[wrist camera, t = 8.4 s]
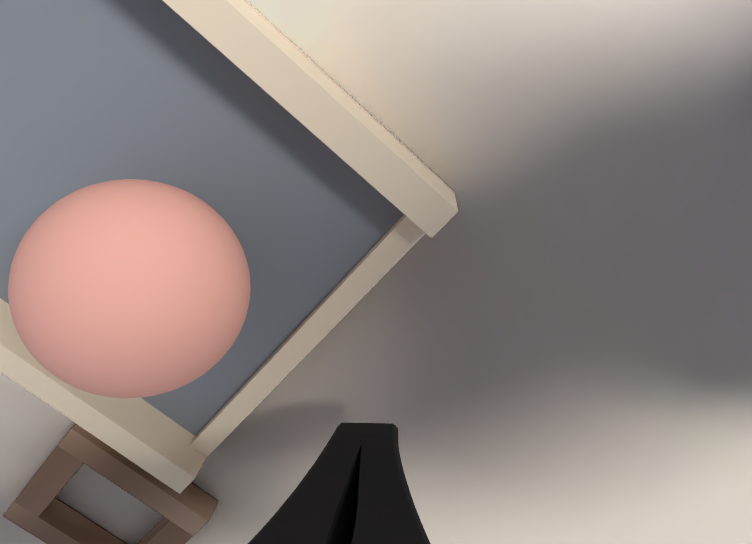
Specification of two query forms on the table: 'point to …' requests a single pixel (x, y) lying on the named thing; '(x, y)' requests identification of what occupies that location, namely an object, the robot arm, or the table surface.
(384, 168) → the tray
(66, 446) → the open wooden square ring
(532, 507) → the table surface
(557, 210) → the table surface
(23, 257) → the ball
